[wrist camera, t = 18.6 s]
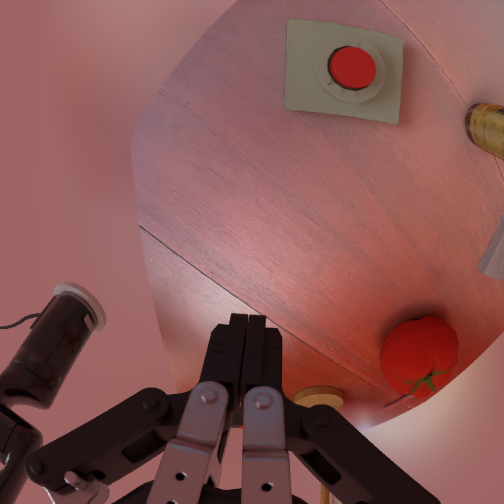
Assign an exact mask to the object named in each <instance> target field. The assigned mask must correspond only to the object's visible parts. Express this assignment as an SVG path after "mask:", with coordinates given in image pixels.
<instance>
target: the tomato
mask: <svg viewBox="0 0 504 504" xmlns="http://www.w3.org/2000/svg"><path fill="white" fill-rule="evenodd" d="M458 342H459V341H458V338H457V335H456V332H455V330H454V329H453V328H452V327H451V326H450V325H449V324H448V323H446V322H445V321H443V320H441V319H439V318H436V317H430V316H425V317H423V318H421V319H419V320H409V321H406V322H404V323H401V324H399V325H398V326H397V327H396V328H395V329H393V330H392V331H391V332H390V334H389V335H388V336H387V338H386V339H385V340H384V343H383V345H382V348H381V351H380V362H381V370H382V373H383V375H384V378H385V379H386V380H387V381H388V383H389V384H390V385H391V387H392V388H393V389H394V390H395V391H397V392H398V393H400V394H408V395H407V396H409V395H412V396H415V397H417V398H419V399H420V398H423V397H427V396H428V395H429V394H430V393H431V391H435V392H436V390H435V389H434V387H440V386H443V385H444V384H445V383H446V382H447V381H448V380H449V378H450V376H451V374H452V372H453V370H454V368H455V365H456V363H457V356H458ZM407 396H405V397H407ZM405 397H404V398H405Z"/></svg>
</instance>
